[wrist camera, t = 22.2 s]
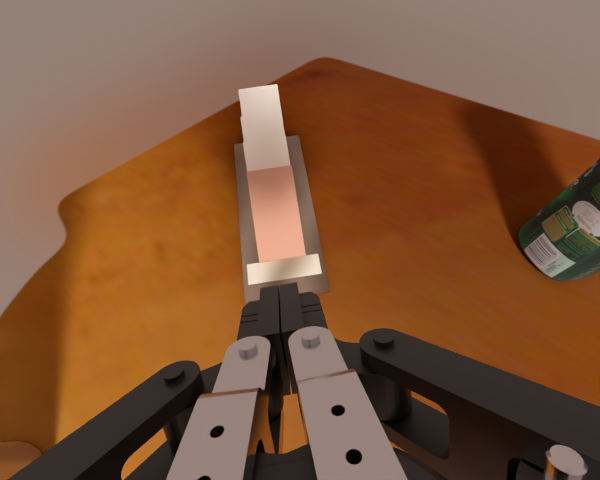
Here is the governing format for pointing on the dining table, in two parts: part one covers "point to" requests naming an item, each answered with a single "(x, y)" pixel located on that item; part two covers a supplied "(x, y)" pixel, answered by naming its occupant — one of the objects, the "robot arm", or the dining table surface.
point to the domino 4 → (275, 214)
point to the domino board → (311, 266)
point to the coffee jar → (567, 231)
